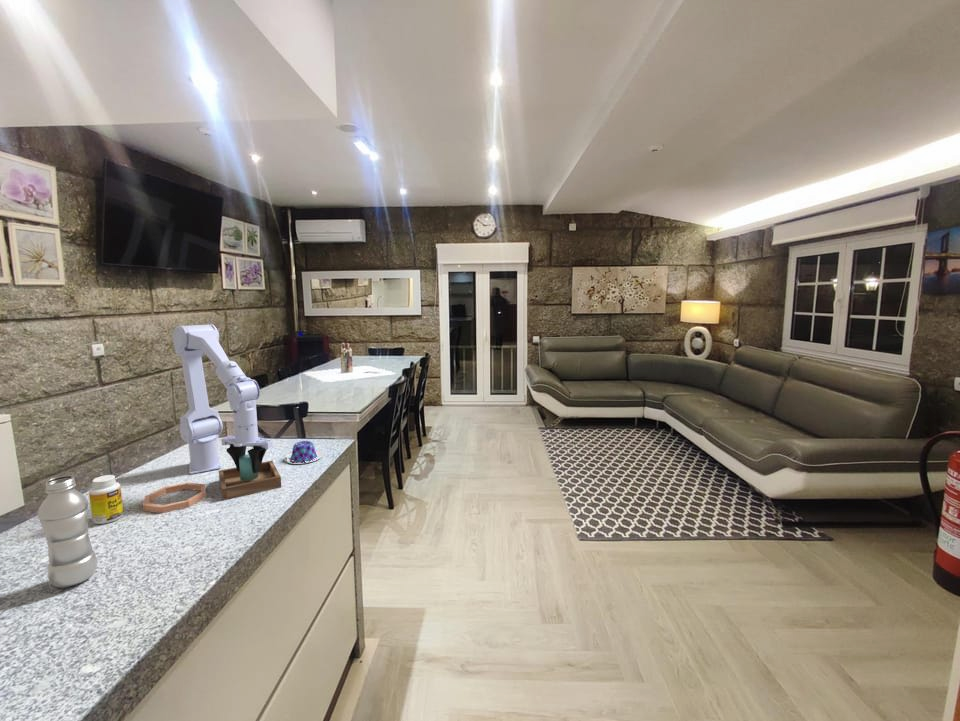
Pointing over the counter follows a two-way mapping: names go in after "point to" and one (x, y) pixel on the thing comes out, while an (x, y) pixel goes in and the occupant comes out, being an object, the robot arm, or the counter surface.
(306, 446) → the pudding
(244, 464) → the teal tapered cylinder
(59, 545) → the plastic bottle
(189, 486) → the collar
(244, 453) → the robot arm
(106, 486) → the supplement bottle
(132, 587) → the counter surface
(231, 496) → the tray
